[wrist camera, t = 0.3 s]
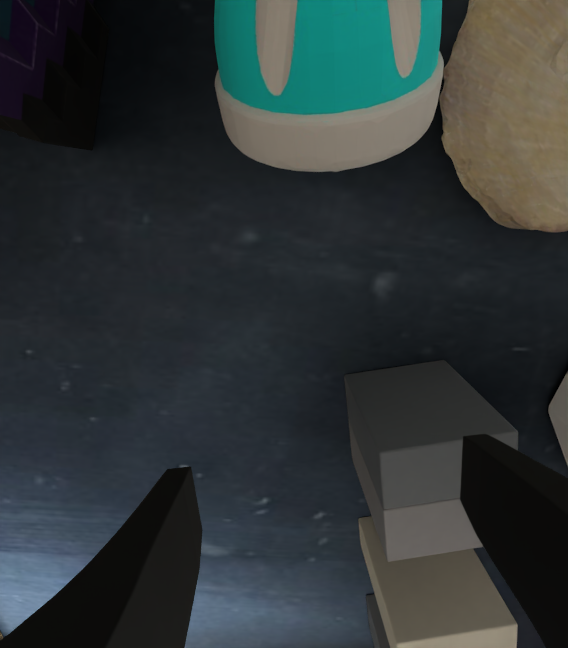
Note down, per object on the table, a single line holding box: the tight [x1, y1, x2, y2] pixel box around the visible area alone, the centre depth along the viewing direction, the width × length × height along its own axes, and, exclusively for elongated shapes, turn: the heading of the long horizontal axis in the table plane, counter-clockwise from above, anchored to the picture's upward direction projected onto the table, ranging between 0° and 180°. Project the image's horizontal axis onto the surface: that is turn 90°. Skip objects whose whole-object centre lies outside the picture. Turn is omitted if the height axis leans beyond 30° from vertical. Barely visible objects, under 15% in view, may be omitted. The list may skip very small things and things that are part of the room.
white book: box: [358, 516, 518, 648], centre depth 21 cm, size 2×5×7 cm, turn 98°
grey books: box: [344, 360, 518, 648], centre depth 21 cm, size 17×5×6 cm, turn 8°
